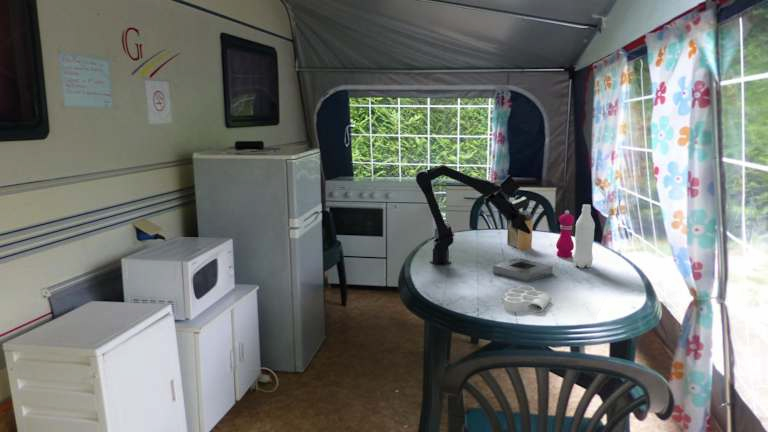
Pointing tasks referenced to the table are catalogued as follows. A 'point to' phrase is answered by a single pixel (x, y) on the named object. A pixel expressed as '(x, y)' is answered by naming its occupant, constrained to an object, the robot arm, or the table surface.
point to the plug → (525, 234)
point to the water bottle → (584, 238)
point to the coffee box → (512, 234)
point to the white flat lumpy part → (525, 299)
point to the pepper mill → (565, 236)
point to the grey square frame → (522, 269)
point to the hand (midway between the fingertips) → (528, 231)
